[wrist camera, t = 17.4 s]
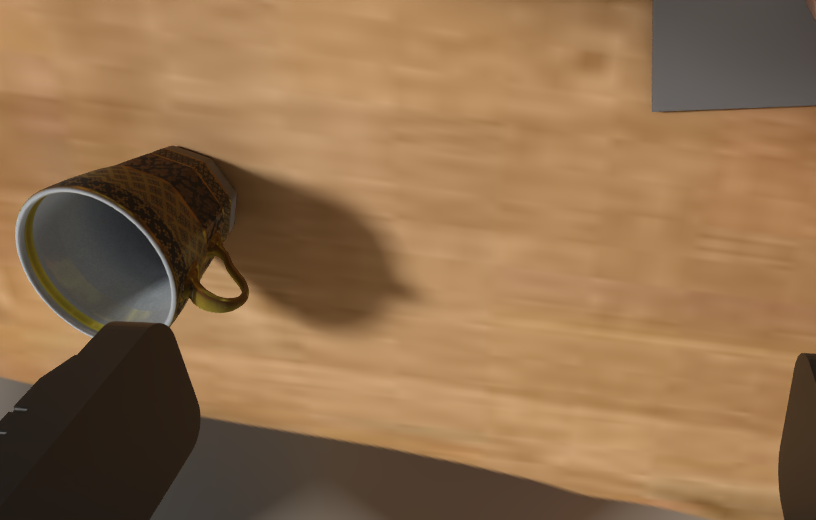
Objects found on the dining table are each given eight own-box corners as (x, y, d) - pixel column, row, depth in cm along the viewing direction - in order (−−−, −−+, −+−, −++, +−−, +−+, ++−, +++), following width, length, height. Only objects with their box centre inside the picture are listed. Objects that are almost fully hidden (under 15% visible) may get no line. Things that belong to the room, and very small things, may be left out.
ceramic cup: (124, 232, 53) (21, 311, 45) (122, 99, 48) (5, 161, 39) (295, 295, 51) (221, 389, 43) (314, 164, 46) (233, 243, 37)
